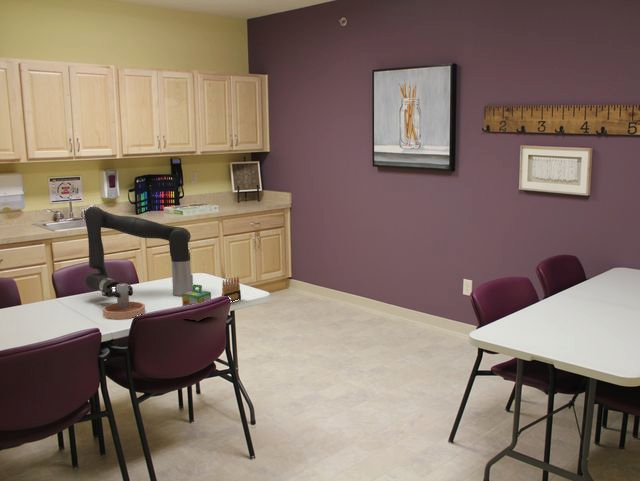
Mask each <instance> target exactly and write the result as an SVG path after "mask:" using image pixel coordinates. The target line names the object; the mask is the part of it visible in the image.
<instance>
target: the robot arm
mask: <svg viewBox="0 0 640 481" xmlns="http://www.w3.org/2000/svg"><path fill="white" fill-rule="evenodd" d="M84 221H85V224H86V225H85V226H86V230H87V239H88V242H87V243H88V266H89V268H90V269H92V270H96V271H98V273H89V274H87V275H86V277H85V278H84V282H85V285H86V287H87V288H88V289H91V290H96V291H100V292H101V296H102V297H107V298H116V299H117V298H120V293H118V292H117V287H116V285H117V284H121V282H119V281H117V280H115V279H113V278H109V276H108V273H107V269H106V264H105V251H104V250H105V249H104V244H103V238H102V229H108V230H109V229H110V230H115V231H118V232H120V233H123V234H126V235H129V236H133V237H136V238H143V239H160V240H163V241H168V246H169V255H170V260H171V264H170V265H171V276H172V277H171V279H172V280H171V281H172V282H171V283H172V295H173V296H178V297H182V294H183V293H186V292H189V291H192V290H193V285H194V277H193V274H192V272H191V271H192V270H191V254H190V252H189V242H190V241H191V237H192V236H191V233H190V231H189V230H188V229H186V228H185V227H181V226H173V225H166V224H162V223H159V222H155V221H153V220H148V219H145V218H141V217H138V216H128V215H117V214H113V213H111V212H108V211H105V210H103V209H101V208H100V207H98V206H89V207H88V208H87V209H86V210H85V212H84ZM128 291H129V297H132V296H133V294H134V291H133V286H132V285H129V284H128Z"/></svg>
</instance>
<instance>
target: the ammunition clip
mask: <svg viewBox="0 0 640 481" xmlns="http://www.w3.org/2000/svg"><path fill="white" fill-rule="evenodd" d="M221 286H222V288H221V291H222V292H221V297H222V296H229V297H230V298H231V301H232V302H233V301H235V300H238V299H241V300H242V293H241V284H240V278H239V275H238V276H234V278H233V277H231V279H230V278H228V279H227V278H226V279H223V280H222V285H221ZM233 303H234V302H233Z"/></svg>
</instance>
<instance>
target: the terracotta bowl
mask: <svg viewBox="0 0 640 481" xmlns="http://www.w3.org/2000/svg"><path fill="white" fill-rule="evenodd" d="M144 312H146V305H145V303H143V302H140V301H129V307H127V308H118V304H117V302H114V303H110V304H108V305H105V306H104V307H103V309H102V317H104V316H105V317H104V318H106V319H108V318H112V319H111V320H128V318H129V319H133V318H132V317H134V318H136V317H135V316H137V315H140V314H142V315H144V314H145V313H144ZM140 316H141V315H140Z"/></svg>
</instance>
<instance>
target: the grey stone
mask: <svg viewBox="0 0 640 481" xmlns="http://www.w3.org/2000/svg"><path fill="white" fill-rule="evenodd" d="M128 286H129V284H128V283H120V284H117V285H116V287H117V292H118V293H120V298H117V297H116V299H117V302H116V303H117V304H118V308H127V307H129V302H130V296H129V291H128Z"/></svg>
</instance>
